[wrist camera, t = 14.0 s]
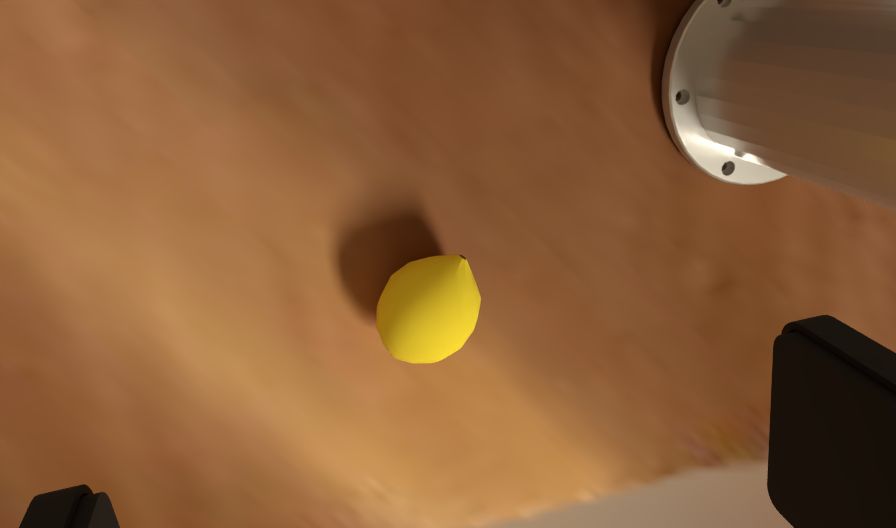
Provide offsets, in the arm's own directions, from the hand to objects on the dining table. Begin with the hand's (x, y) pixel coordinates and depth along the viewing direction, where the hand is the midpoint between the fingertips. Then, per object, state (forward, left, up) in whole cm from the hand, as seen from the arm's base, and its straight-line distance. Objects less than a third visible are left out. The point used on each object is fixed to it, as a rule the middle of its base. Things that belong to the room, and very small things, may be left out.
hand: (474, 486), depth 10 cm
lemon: (-4, +11, -31) cm, 33 cm away
